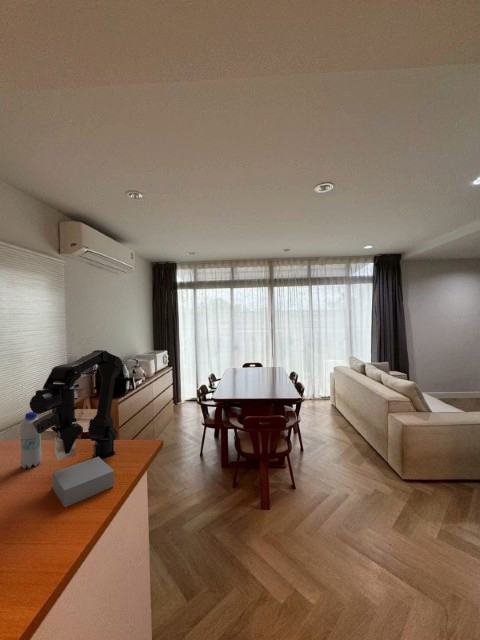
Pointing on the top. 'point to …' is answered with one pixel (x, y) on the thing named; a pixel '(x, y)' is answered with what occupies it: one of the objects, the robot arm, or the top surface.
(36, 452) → the bottle
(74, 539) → the top surface
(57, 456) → the cream block
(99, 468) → the plinth
